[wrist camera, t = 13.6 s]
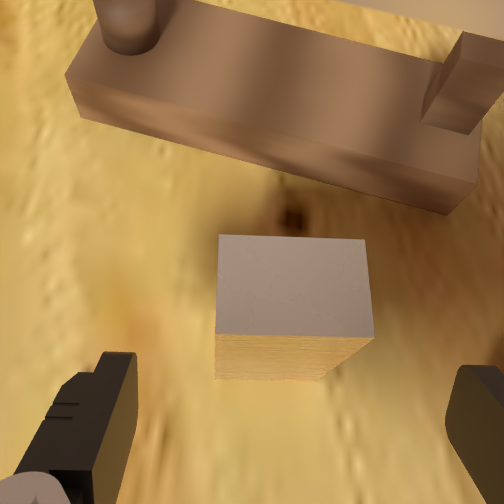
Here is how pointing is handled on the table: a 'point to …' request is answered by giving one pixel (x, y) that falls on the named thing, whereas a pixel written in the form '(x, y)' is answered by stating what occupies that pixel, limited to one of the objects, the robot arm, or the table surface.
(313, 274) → the lever cap
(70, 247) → the table surface
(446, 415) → the robot arm
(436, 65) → the plane body
